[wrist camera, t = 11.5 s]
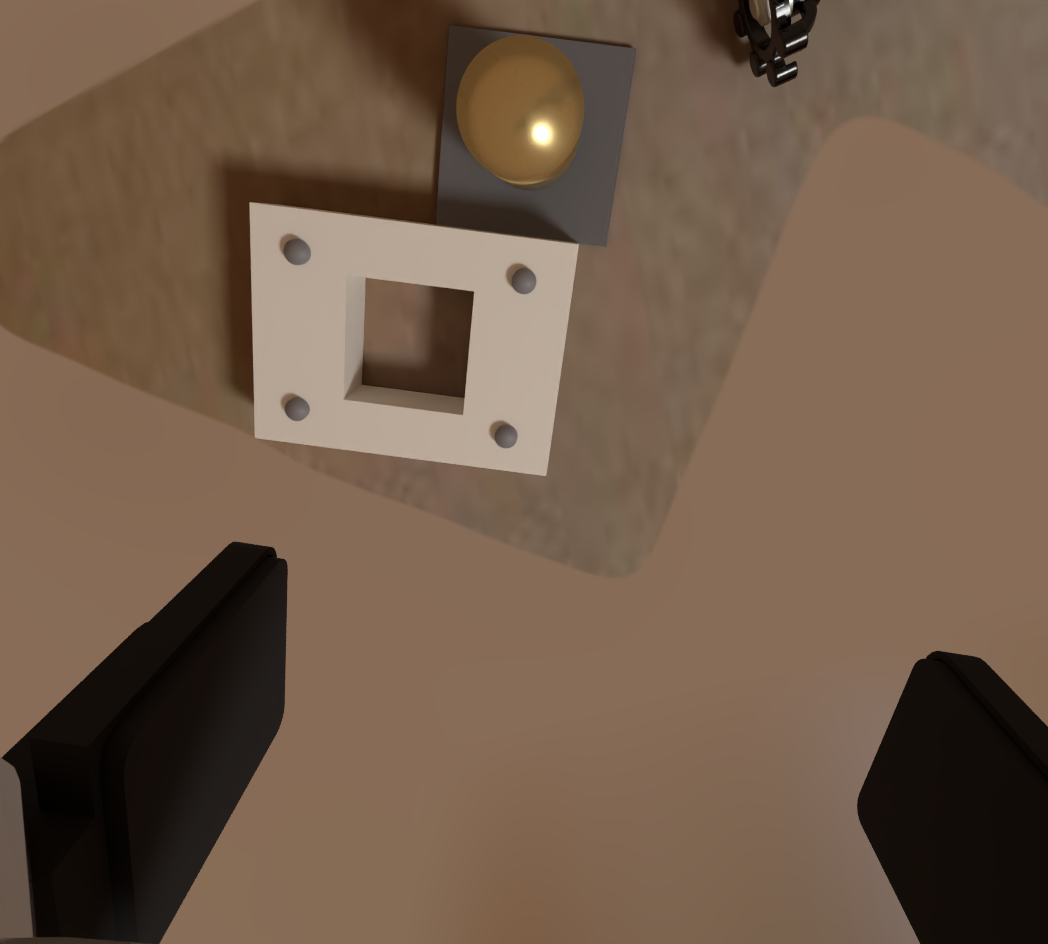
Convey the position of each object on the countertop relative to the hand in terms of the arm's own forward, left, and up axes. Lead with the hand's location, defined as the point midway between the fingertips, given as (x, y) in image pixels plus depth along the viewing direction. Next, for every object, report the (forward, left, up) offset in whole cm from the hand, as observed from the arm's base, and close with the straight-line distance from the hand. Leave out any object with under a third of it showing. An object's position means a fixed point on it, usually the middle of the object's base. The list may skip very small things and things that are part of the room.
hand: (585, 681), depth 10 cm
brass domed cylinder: (+3, -10, -29) cm, 31 cm away
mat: (+3, -10, -29) cm, 31 cm away
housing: (+8, +1, -29) cm, 30 cm away
